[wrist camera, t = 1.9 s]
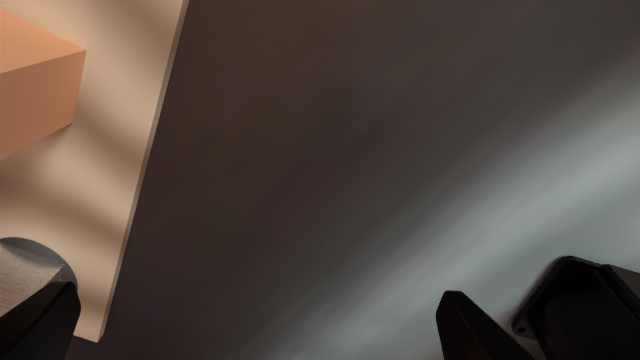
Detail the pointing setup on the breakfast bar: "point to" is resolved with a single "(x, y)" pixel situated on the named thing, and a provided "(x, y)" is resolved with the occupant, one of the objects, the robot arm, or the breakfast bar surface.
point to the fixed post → (23, 275)
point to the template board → (92, 144)
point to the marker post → (35, 83)
